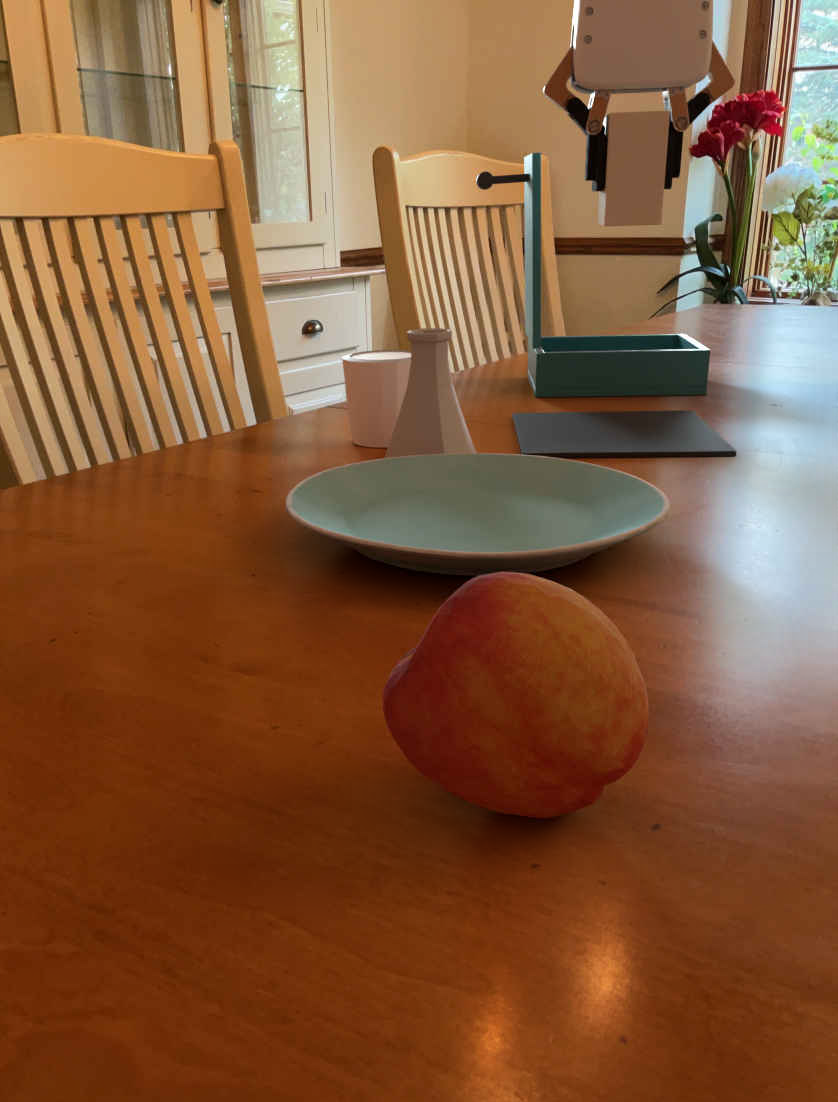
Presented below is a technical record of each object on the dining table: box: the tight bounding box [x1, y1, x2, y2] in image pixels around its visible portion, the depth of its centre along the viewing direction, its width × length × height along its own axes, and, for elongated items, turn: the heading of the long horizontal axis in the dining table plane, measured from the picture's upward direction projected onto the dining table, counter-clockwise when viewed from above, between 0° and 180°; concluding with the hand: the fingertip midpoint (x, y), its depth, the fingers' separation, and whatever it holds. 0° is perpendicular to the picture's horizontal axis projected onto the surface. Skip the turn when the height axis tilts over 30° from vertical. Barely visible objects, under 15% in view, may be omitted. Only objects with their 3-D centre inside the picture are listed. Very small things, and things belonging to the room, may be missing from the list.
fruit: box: [381, 572, 650, 819], centre depth 34 cm, size 8×8×8 cm
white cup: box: [341, 349, 411, 449], centre depth 86 cm, size 7×7×7 cm
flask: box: [384, 327, 477, 458], centre depth 76 cm, size 7×7×10 cm
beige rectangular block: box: [597, 110, 670, 227], centre depth 82 cm, size 4×4×8 cm
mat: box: [512, 409, 737, 459], centre depth 87 cm, size 16×16×1 cm
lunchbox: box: [526, 333, 711, 398], centre depth 108 cm, size 17×13×4 cm
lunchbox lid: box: [475, 152, 542, 349], centre depth 104 cm, size 17×13×6 cm
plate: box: [284, 452, 671, 577], centre depth 62 cm, size 22×22×3 cm
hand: (630, 187), depth 82 cm, fingers closed on beige rectangular block, 4 cm apart
